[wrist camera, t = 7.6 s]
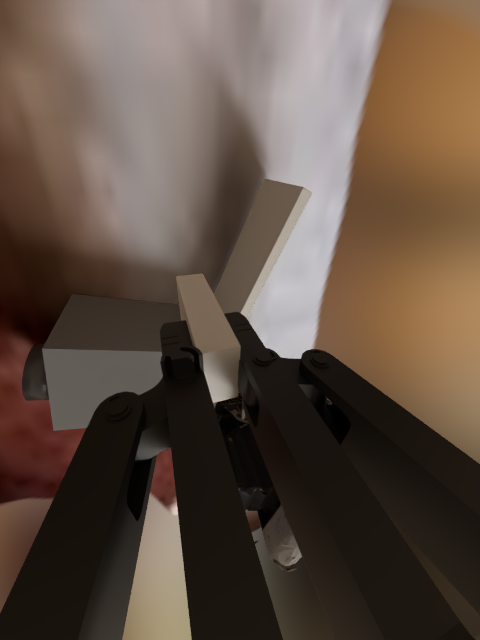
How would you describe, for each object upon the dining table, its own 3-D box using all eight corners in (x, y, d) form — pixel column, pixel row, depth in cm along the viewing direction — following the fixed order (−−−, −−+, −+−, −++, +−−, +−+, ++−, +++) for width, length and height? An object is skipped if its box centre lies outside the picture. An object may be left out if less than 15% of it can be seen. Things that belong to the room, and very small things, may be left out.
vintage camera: (165, 383, 33) (169, 596, 17) (266, 379, 38) (339, 539, 23) (161, 425, 38) (160, 620, 22) (251, 417, 43) (301, 569, 28)
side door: (261, 177, 21) (302, 186, 16) (279, 187, 22) (323, 199, 17) (206, 307, 27) (221, 348, 21) (222, 311, 28) (240, 351, 22)
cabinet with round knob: (54, 365, 26) (19, 442, 19) (45, 291, 21) (-4, 355, 15) (199, 365, 32) (213, 423, 25) (215, 308, 28) (236, 359, 21)
